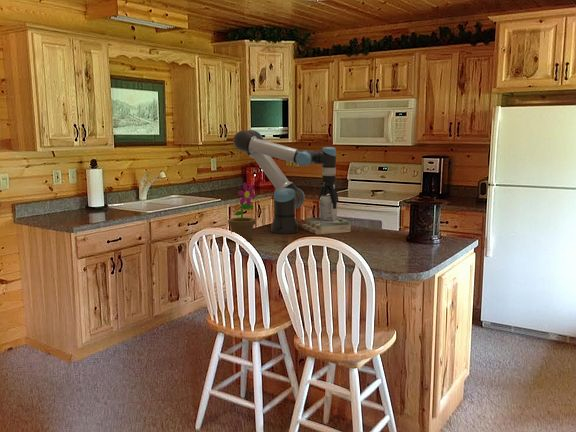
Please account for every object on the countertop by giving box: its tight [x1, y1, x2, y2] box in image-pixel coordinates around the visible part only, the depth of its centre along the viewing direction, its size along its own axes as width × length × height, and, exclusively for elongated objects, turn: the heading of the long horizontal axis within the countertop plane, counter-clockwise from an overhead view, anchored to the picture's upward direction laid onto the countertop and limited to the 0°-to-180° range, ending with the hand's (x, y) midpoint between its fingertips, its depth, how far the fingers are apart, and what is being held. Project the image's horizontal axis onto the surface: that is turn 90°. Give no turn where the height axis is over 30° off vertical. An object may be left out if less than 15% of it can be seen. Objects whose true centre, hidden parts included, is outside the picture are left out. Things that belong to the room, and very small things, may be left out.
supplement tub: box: [319, 195, 338, 223], centre depth 306 cm, size 10×10×15 cm
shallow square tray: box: [301, 216, 352, 235], centre depth 307 cm, size 20×21×6 cm
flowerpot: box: [227, 182, 257, 242], centre depth 280 cm, size 14×14×30 cm
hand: (328, 212), depth 307 cm, fingers open, 13 cm apart
